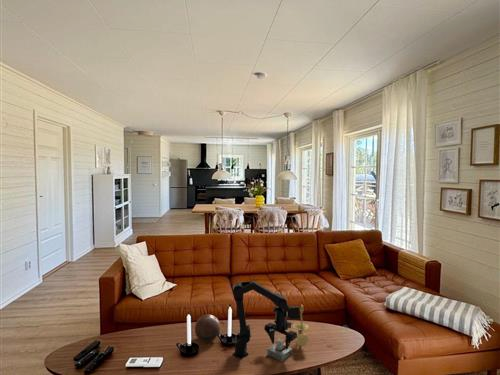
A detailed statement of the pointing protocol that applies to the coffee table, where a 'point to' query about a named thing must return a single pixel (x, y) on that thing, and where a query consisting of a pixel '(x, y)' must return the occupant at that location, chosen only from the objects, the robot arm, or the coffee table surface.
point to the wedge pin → (279, 345)
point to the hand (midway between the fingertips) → (279, 346)
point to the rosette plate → (277, 354)
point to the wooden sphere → (207, 328)
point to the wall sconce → (301, 330)
